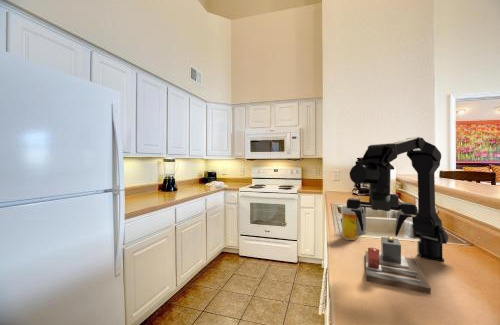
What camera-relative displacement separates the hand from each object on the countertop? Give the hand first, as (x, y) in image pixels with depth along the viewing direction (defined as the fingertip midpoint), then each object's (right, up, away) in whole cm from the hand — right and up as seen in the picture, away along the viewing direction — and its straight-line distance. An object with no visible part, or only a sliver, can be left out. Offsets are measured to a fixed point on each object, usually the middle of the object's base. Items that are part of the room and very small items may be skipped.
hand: (378, 233), depth 71 cm
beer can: (+5, -13, +32) cm, 35 cm away
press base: (+5, -12, +1) cm, 13 cm away
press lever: (-3, -11, -3) cm, 12 cm away
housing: (+7, -10, +5) cm, 13 cm away
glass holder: (+14, -13, +41) cm, 45 cm away
